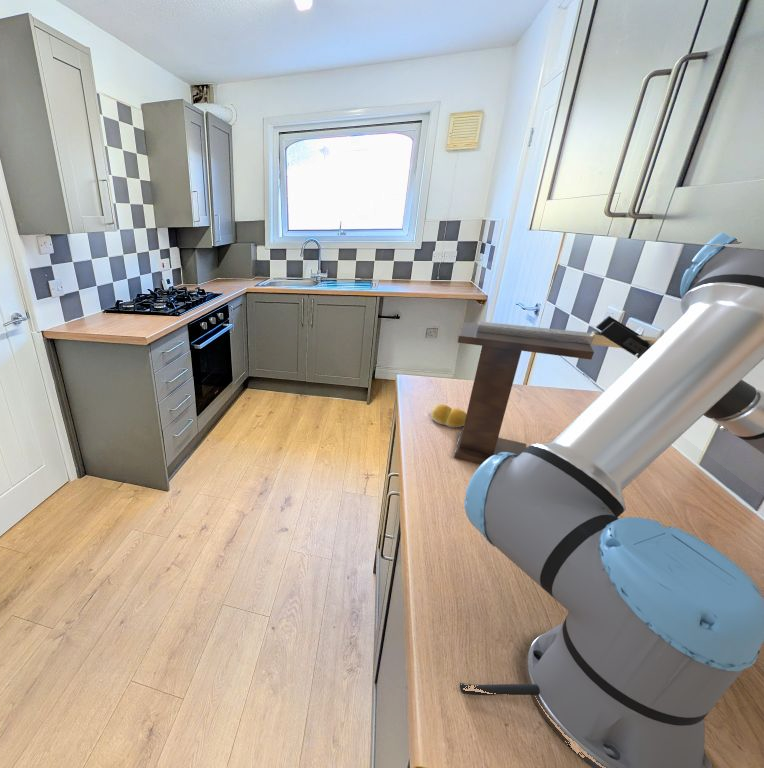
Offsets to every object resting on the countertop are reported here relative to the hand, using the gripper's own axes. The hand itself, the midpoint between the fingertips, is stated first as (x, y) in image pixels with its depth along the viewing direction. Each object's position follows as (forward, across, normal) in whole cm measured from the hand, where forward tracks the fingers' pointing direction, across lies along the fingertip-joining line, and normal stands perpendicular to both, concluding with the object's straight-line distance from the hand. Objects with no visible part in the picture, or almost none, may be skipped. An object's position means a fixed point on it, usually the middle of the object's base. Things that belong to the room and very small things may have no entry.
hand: (605, 324), depth 72 cm
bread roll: (+3, +12, -40) cm, 42 cm away
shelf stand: (-6, 0, -34) cm, 35 cm away
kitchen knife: (+3, 0, -6) cm, 7 cm away
